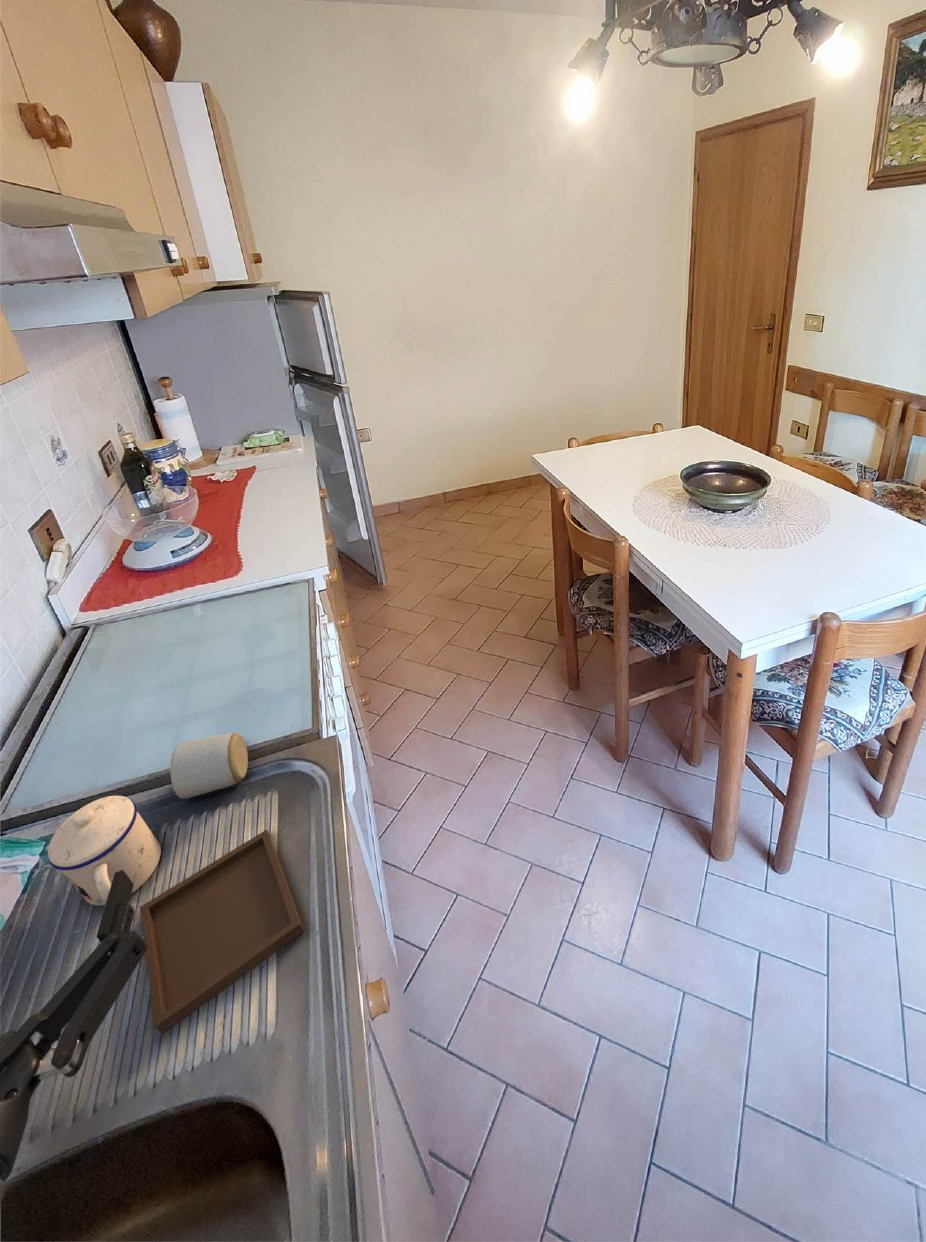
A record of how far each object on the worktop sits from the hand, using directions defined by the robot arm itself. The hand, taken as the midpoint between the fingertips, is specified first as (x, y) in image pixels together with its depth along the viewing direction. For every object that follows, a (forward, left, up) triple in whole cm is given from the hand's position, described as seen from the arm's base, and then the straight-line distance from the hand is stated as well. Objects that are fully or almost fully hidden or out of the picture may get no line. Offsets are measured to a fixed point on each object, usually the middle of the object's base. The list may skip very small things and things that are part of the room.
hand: (50, 905), depth 60 cm
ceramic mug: (-18, +16, -12) cm, 27 cm away
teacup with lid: (-9, +3, -12) cm, 15 cm away
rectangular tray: (+5, +12, -12) cm, 17 cm away
